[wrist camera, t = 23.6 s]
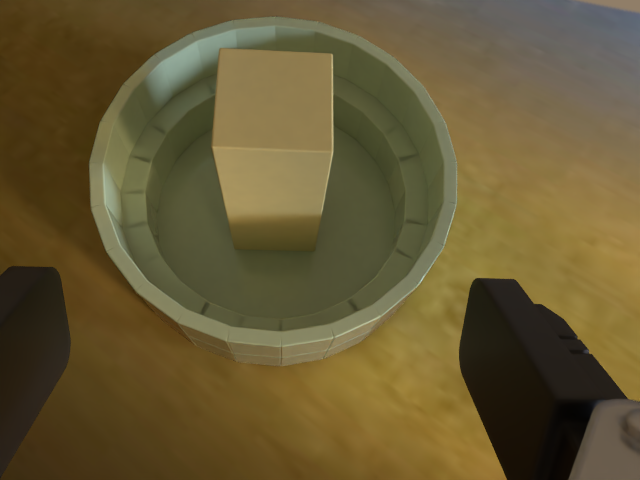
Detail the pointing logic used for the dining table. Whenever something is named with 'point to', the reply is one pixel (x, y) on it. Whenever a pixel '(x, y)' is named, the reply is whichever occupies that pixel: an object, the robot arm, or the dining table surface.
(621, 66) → the dining table surface
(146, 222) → the bowl
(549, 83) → the dining table surface
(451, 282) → the dining table surface
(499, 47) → the dining table surface
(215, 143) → the butter stick
